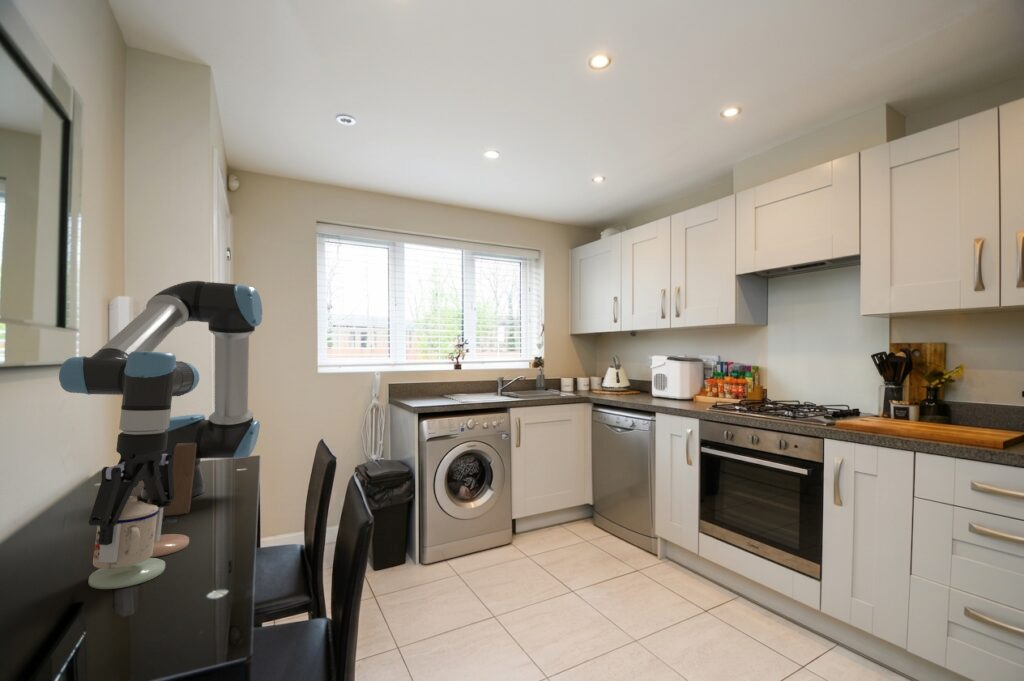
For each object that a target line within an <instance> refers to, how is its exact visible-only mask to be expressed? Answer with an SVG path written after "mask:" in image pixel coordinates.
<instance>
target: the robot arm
mask: <svg viewBox="0 0 1024 681" xmlns="http://www.w3.org/2000/svg"><path fill="white" fill-rule="evenodd" d="M262 316H263V305H262V300H261V296H260V294H259V292H258V290H257V289H256V288H255V287H253V286H250V285H249V286H248V285H243V284H237V283H227V282H225V283H223V282H211V281H202V280H190V281H184V282H181V283H177V284H174V285H172V286H169V287H167V288H164V289H163V290H161V291H159V292H157V293H156V294H155V295H154V296H152V297H150V299H149V300H148V301H147V303H146V306H145V309H144V310H142V312H141V313H140V314H138V315H137V316H136V317H135V318H134V319H133V320H132V321H131V322H129V323H128V324H127V325H126V326H125V327H124V328H123V329H122V330H120V331H119V332H118V333H117V334H116V335H114V336H113V338H111V339H110V340H109V341H108V342H107V343H105V344H104V345H103V346H101V348H100V349H98V350H97V351H96V352H95V353H94V354H93V355H91V356H90V357H89V356H85V355H83V356H73V357H70V358H67V359H65V361H64V362H63V363H62V365H61V366H60V369H59V371H58V381H59V383H60V387H61V388H62V389H63V390H64V391H65V392H68V393H71V394H72V393H73V394H85V395H89V396H90V395H107V396H109V395H115V396H117V395H119V396H122V400H121V401H122V402H121V406H120V409H121V410H120V420H119V429H118V430H120V431H121V432H119V434H117V442H116V449H115V450H116V453H118V454H119V455H120V459H119V461H118V463H117V464H116V465H114V466H104V467H102V469H101V481H100V485H99V488H98V491H97V495H96V498H95V501H94V503H93V504H94V505H93V508H92V511H91V513H90V517H89V521H88V525H89V526H95V527H97V526H100V534H99V545H100V551H99V560H98V562H111V563H114V562H116V561H117V557H118V548H119V539H120V530H121V524H117V522H118V520H119V518H120V515H121V513H122V511H123V509H124V507H125V505H126V503H127V501H128V499H129V496H131V494H132V492H133V490H134V488H136V487H137V486H138V485H139V483H140V482H141V481H142V482H143V486H142V487H141V493H140V498H141V499H142V500H144V501H148V499H150V502H151V504H153V505H156V506H157V507H158V509H159V512H158V514H157V520H156V529H155V538H154V541H159V540H160V536H161V535H162V526H163V525H162V524H163V521H164V517H165V516H163V515H164V507H165V506H170V504H171V501H169V500H173V499H174V483H173V470H172V469H173V460H174V450H175V446H176V445H177V444H178V443H196V444H197V446H196V456H195V466H194V476H193V485H192V495H191V498H193V497H196V496H199V495H201V494H203V493H204V492H205V486H206V484H205V481H204V477H203V472H202V468H201V459H216V460H217V459H222V460H223V459H228V460H229V459H232V460H235V459H245V458H248V457H249V456H251V455H252V454H253V451H254V450H255V447H256V445H257V441H258V438H259V433H260V426H261V425H260V421H259V420H256V419H255V420H254V413H253V411H250V410H249V409H248V408H249V405H248V402H249V400H248V399H249V355H250V354H249V352H250V351H249V350H250V349H249V348H250V347H249V346H250V335H252V334H253V333H254V332H255V328H256V327H258V326H260V325H261V323H262V319H263V317H262ZM186 322H199V323H201V322H202V323H208V324H207V325H208V332H210V333H211V334H212V335H214V411H213V412H212V413H211V414H210V415H209V416H208V419H206V415H205V414H189V415H179V416H171V411H172V400H173V397H181V396H184V395H186V394H189V393H190V392H192V391H193V390H195V389H196V388H197V386H198V384H199V382H200V374H199V371H198V370H197V368H196V367H195V366H194V365H192V364H191V363H189V362H186V361H179V360H178V361H177V357H176V355H175V353H172V352H158V351H155V349H156V348H157V347H158V346H159V345H160V344H161V343H162V342H163V341H164V340H165V338H166V337H168V336H169V334H170V333H171V332H172V331H174V329H175V328H178V327H181V326H184V324H186ZM165 493H167V494H165ZM110 516H111V519H110Z"/></svg>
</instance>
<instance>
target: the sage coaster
mask: <svg viewBox="0 0 1024 681" xmlns="http://www.w3.org/2000/svg"><path fill="white" fill-rule="evenodd" d="M165 569H166V562H165V560H163V559H161V558H157V557H151V558H148V559H147V560H145V561H143V562H141V563H138V564H135V565H131V566H127V567H122V568H114V569H101V568H97V570H95V571H93V572H92V573H91V574H90V575H89V577H88V586H89V587H91V588H94V589H97V590H98V589H99V590H113V589H121V588H127V587H133V586H136V585H139V584H142V583H145V582H148V581H151V580H152V579H153V580H154V579H155V578H156V577H158V576H160V575H161V574H163V572H164V571H165Z"/></svg>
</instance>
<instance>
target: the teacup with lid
mask: <svg viewBox="0 0 1024 681" xmlns="http://www.w3.org/2000/svg"><path fill="white" fill-rule="evenodd" d="M158 512H159V509H158V507H157V506H156V505H153V504H147V502H144V501H141V500H138V497H137V496H136V495H130V496H129V499H128V501H127V503H126V505H125V507H124V509H123V511H122V513H121V515H120V518H119V520H118V522H117V524H121V530H120V539H119V548H118V557H117V561H116V562H114V563H111V562H98V560H99V551H100V545H99V534H100V526H96V533H95V542H94V550H93V558H92V565H93V567H95V568H97V569H100V568H101V569H114V568H122V567H127V566H131V565H135V564H138V563H141V562H143V561H145V560H147V559H148V558H150V557H151V556H152V554H153V546H154V538H155V529H156V520H157V514H158ZM110 519H111V516H110ZM151 558H152V557H151Z"/></svg>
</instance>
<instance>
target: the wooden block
mask: <svg viewBox="0 0 1024 681" xmlns="http://www.w3.org/2000/svg"><path fill="white" fill-rule="evenodd" d="M196 446H197V444H196V443H178V444H177V445H176V446H175V450H174V460H173V469H172V470H173V483H174V499H173V500H169V501H171V504H170V506H165V507H164V515H163V516H164V517H168V516H169V517H170V516H177V515H187V514H189V513H190V510H191V504H192V497H191V495H192V485H193V476H194V466H195V456H196ZM165 494H167V493H165ZM146 501H147V502H146V503H147V504H151V502H150V499H148V500H146Z"/></svg>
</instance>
